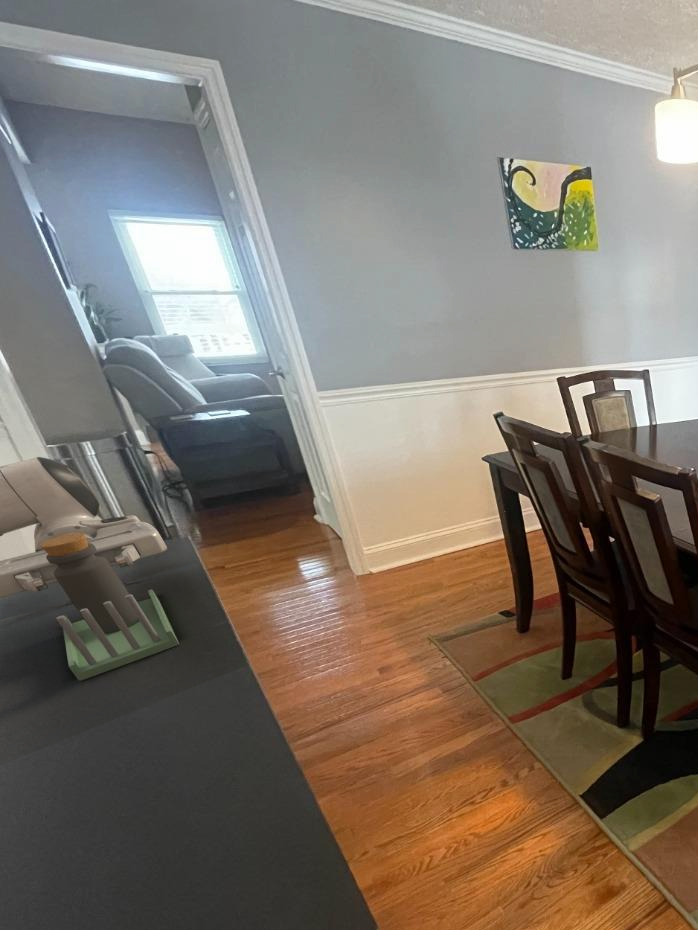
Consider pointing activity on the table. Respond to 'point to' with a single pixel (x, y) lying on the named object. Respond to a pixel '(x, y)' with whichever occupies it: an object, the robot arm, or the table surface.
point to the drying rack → (116, 638)
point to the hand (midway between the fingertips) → (82, 573)
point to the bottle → (89, 580)
